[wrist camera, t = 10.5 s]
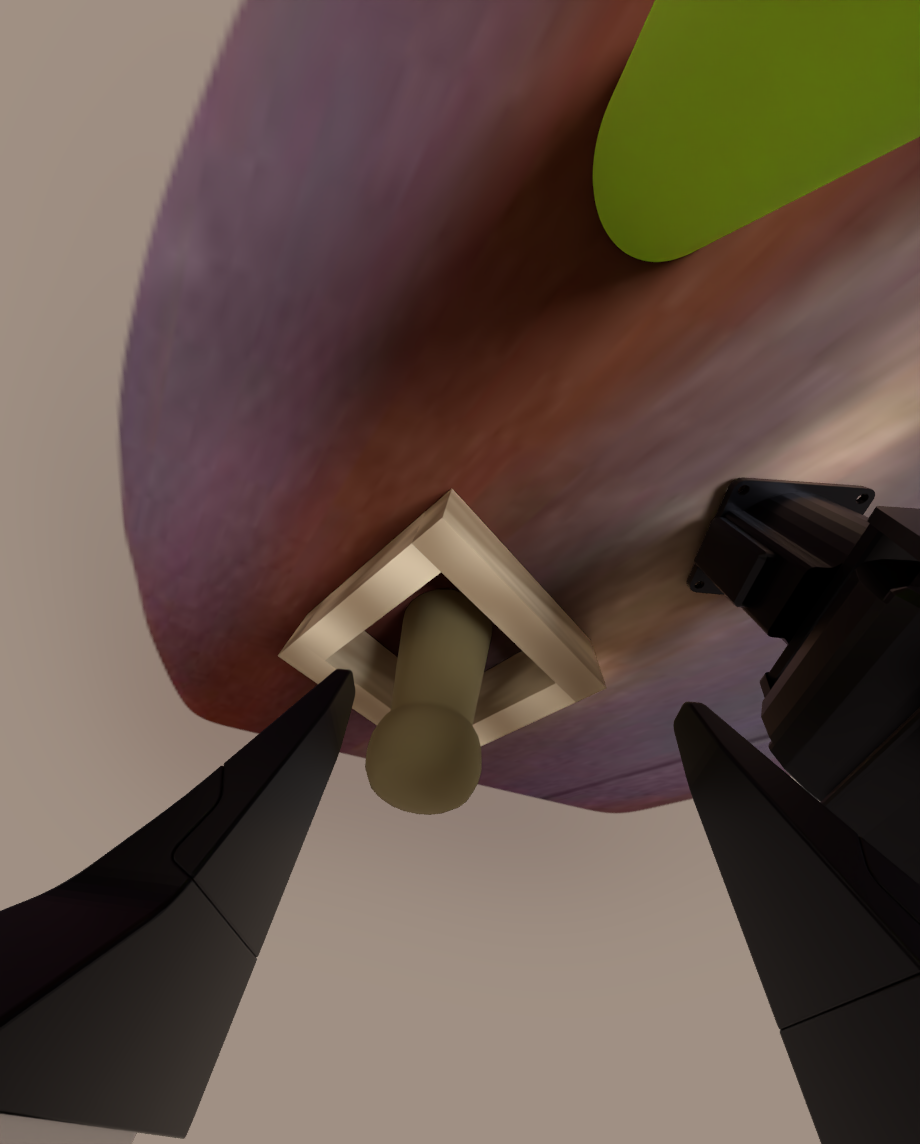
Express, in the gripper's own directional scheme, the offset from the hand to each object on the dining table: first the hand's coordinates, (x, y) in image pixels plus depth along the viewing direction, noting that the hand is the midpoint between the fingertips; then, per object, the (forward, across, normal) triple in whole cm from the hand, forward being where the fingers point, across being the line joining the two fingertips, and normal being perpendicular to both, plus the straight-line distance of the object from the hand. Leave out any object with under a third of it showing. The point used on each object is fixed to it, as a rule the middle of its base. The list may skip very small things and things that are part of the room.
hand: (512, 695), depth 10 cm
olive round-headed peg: (+12, +3, +8) cm, 15 cm away
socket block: (+12, +3, +8) cm, 15 cm away
